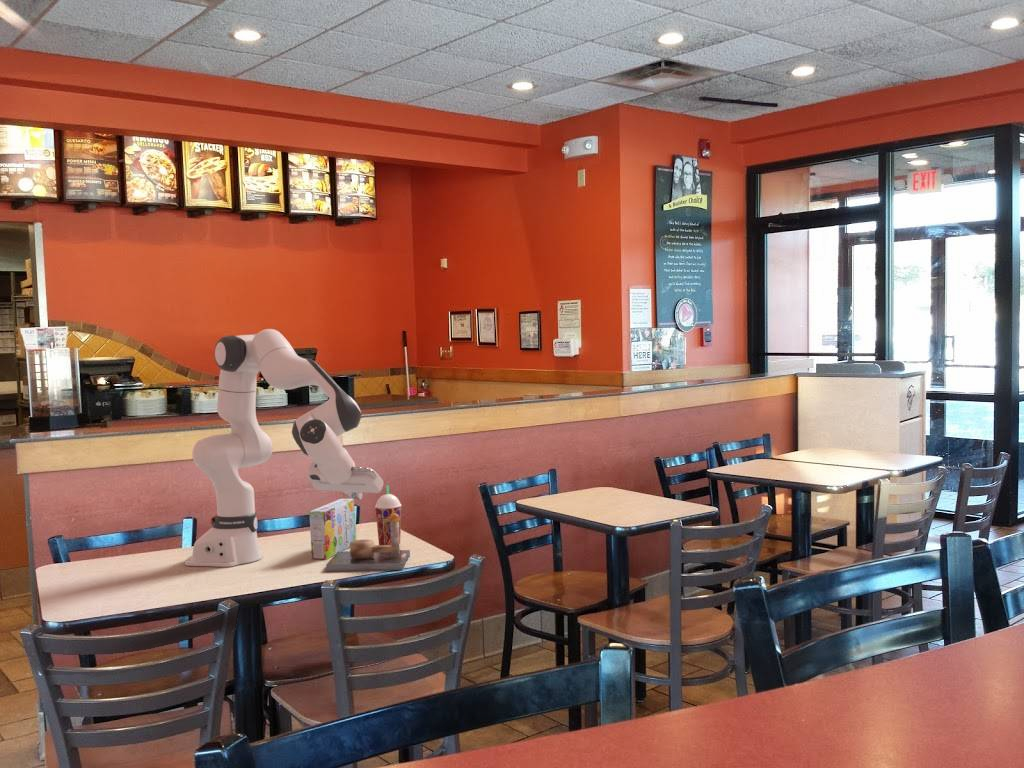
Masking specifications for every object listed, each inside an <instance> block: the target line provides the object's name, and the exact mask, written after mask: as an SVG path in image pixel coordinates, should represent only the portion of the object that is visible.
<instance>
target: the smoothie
mask: <svg viewBox="0 0 1024 768" xmlns="http://www.w3.org/2000/svg"><path fill="white" fill-rule="evenodd" d="M374 508H375V516H376V517H375V520H376V527H377V537H378V538H377V539H378V545H391V525H390V520H389V517H390V515H391V514H393V513H396V514H398V515H399V545H400V544H401V533H402V530H401V529H402V528H401V527H402V503H401V501H400V500H399V498H398V497H397V496H396V495H394V494H392V493H390V489H389V485H386V494H383V495H380V497H379V498H378V499H377V501H376V504H375V506H374Z"/></svg>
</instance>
